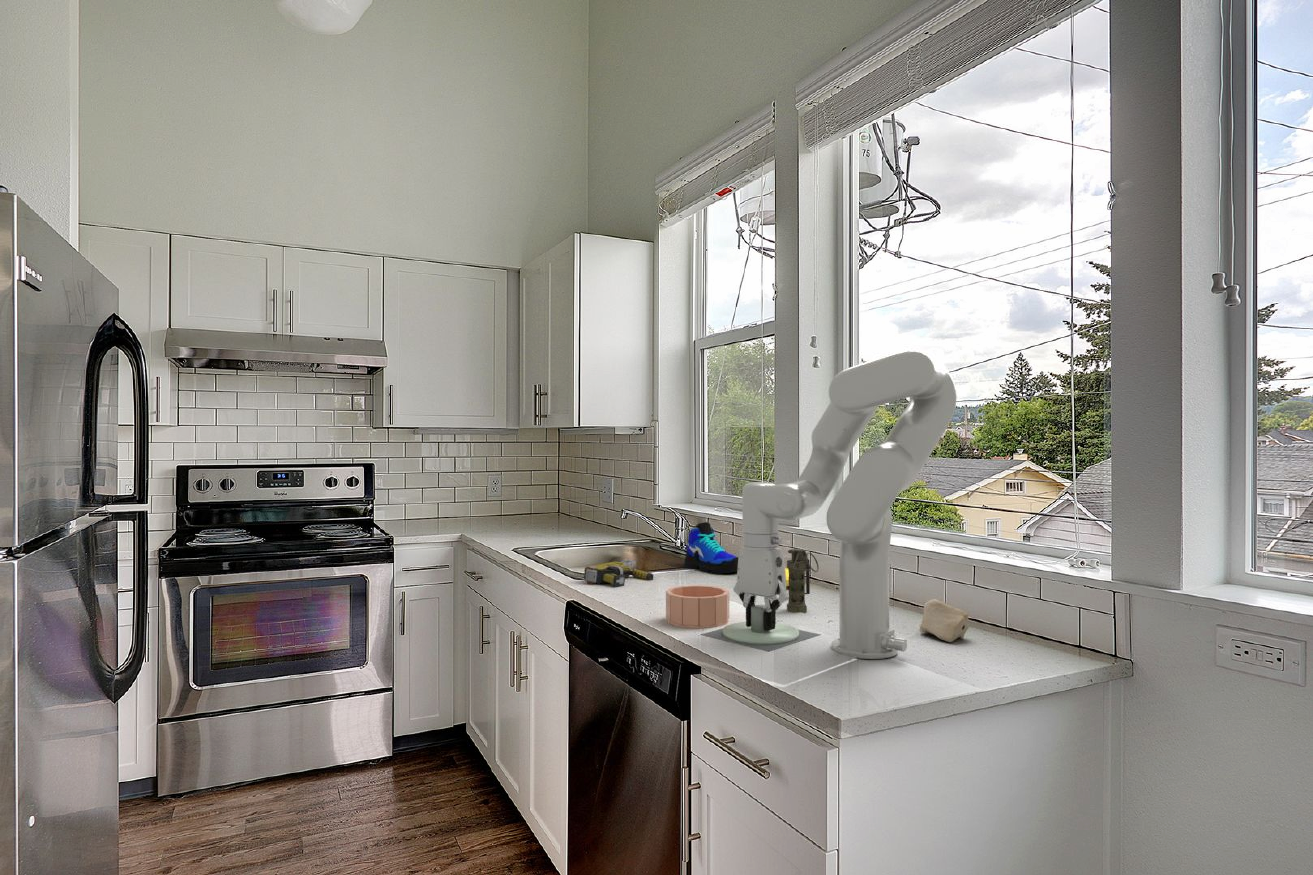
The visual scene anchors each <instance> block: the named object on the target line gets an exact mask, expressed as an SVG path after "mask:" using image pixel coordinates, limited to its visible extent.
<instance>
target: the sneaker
mask: <svg viewBox="0 0 1313 875" xmlns="http://www.w3.org/2000/svg"><path fill="white" fill-rule="evenodd" d="M715 536H716V535H715V532H714V528H712V526H711V523H710V522H708V521H705V522H698V523H697V524H696V525H694V527H693V528H690V530H689V534H688V540H687V545H686V550H685V551H686V552H685V558H684V561H683V564H684V567H685V568H686V569H690V570H699V571H700V572H702V573H705V574H712V575H721V574H722V575H723V574H730V573H737V570H738V559H739V556H737V555H735V554H734V555H733V554H730V553H728V552H727V551H726V550H725V549H724V548H723V547H722V546H721V545H720V544H719V542H717V540H716V539H715Z"/></svg>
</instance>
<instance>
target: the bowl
mask: <svg viewBox="0 0 1313 875" xmlns="http://www.w3.org/2000/svg"><path fill="white" fill-rule="evenodd" d="M665 618H666V622H667V623H668V624H670V625H672V626H676V627H682V628H690V629H706V628H707V629H710V628H717V627H722V626H726V624H728V623H729V622H730V621H729V619H730V591H729V590H727V589H726V588H724V587H719V586H713V585H701V584H700V585H698V584H697V585H696V584H692V585H680V586H675V587H670V588H668V589H667V590H665Z"/></svg>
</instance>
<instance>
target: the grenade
mask: <svg viewBox="0 0 1313 875" xmlns="http://www.w3.org/2000/svg"><path fill="white" fill-rule="evenodd" d="M787 552H788V554H791V559H788V560H787V561H786V568H787V569H788V570H789V586H788V596H789V600H788V602H787V603H786V610H787V612H788V613H789V612H791V613H799V614H800V613H801V614H802V613H803V614H806V613H807V612H808V608H807V607H808V606H807V604H806V598H805V595H810V593H811V592H810V590H811V588H810V586H811V585H810V584H811V581H810V580H811V579H810V572H811V570H812V571H813V573H817V572H819V562H818V560H817V558H816V556H815V555H814V554H813V553H811V552H806V550H805V549H804V548H803V549H801V548H793V549H792V548H791V549H789V550H788V551H787ZM808 555H811V556H812V558H813V559H814V561H815V564H816V570H815V569H813V567H812V566H811V564H810V559H809V558H808Z"/></svg>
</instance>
